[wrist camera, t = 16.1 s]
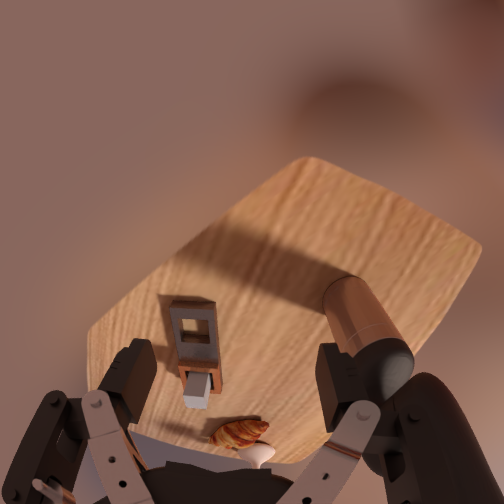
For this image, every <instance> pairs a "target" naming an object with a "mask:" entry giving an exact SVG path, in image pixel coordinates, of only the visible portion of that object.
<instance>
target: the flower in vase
mask: <svg viewBox="0 0 504 504" xmlns="http://www.w3.org/2000/svg"><path fill="white" fill-rule="evenodd" d="M237 452H238V454H239V456H240V457H241V458H243V459H244V460H246V461H247V462H249V463H250V464H251V465H252V469H260V465H261V464H262V463H263V462H265V461H267V460H268V459H270V458H271V457H272V456H273V455H274V453H275V450H274V448H273V447H271V446H270V445H267V444H262V443H254V444H253V445H251V446H249V447H248V448H242V449H238V451H237Z"/></svg>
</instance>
